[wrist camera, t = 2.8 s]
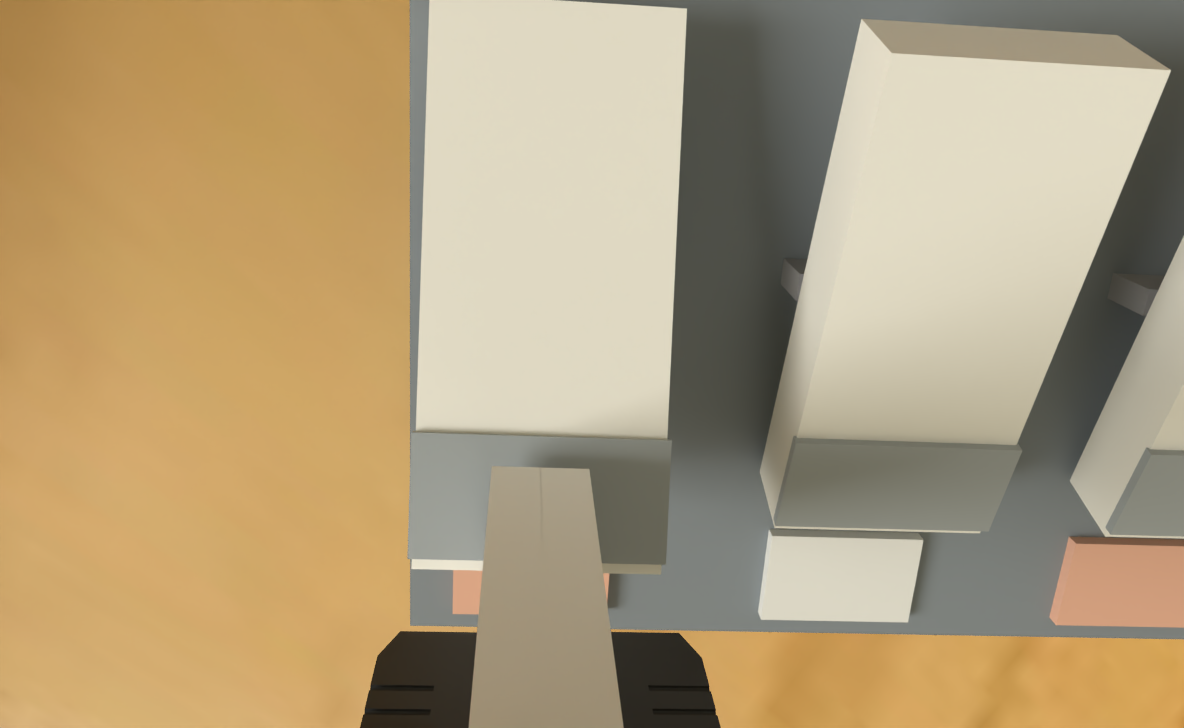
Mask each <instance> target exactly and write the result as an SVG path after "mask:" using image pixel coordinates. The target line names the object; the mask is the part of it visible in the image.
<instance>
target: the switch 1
mask: <svg viewBox="0 0 1184 728" xmlns="http://www.w3.org/2000/svg"><path fill="white" fill-rule="evenodd" d="M686 19H687V9H686V8H670V7H654V6H639V5H623V4H607V3H592V2H576V1H560V0H429V28H428V59H427V91H426V123H425V155H424V186H423V218H422V250H421V281H420V313H419V345H418V377H417V408H416V431H412V433H411V465H410V497H409V529H408V559H412V567H411V569H430V570H476V571H483V559H484V548H485V537H486V525H487V514H488V503H489V491H490V480H491V469H492V466H506V467H541V468H575V469H589V471H590V478H591V486H592V493H593V501H594V508H595V516H596V523H597V531H598V538H599V546H600V554H601V561H602V569H603V573H614V574H659V575H661V565H666V555H667V533H668V511H669V490H670V468H671V446H672V441H671V440H670V439H667V434H668V412H669V390H670V369H671V347H672V325H673V303H674V281H675V259H676V237H677V215H678V194H679V172H680V150H681V128H682V106H683V84H684V62H685V41H686Z"/></svg>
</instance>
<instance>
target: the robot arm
mask: <svg viewBox="0 0 1184 728" xmlns="http://www.w3.org/2000/svg"><path fill="white" fill-rule="evenodd" d="M715 711H716V709H715V705H714V702H713V698H712V694H711V692H709V683H708V679H707V676H706V672H705V668H704V665H703V661H702V658H701V657H700V655H699V654H698V653H697V652H696V651H695V650H694V649H693V648H692V647H691V646H690V645H689V644H688V642H687V641H686V640H685V639H684V638H683V637H682V636H681V635H680V634H679V633H637V632H611V629H610V621H609V614H608V606H607V599H606V591H605V584H604V576H603V569H602V561H601V554H600V546H599V538H598V531H597V523H596V516H595V508H594V501H593V493H592V486H591V478H590V471H589V469H575V468H541V467H506V466H492V469H491V480H490V491H489V503H488V514H487V525H486V537H485V548H484V559H483V571H482V582H481V593H480V605H479V616H478V627H477V633H468V632H408V631H400V632H399V633H398V635H397V636H396V637H395V638H394V639H393V640H392V641H391V642H390V643H389V644H388V645H387V646H386V647H385V649H384V650H383V651H382V652H381V653H380V654H379V655H378V657H377V661H376V665H375V669H374V673H373V677H372V681H371V688H370V690H369V694H368V698H367V702H366V706H365V714H364V715H363V718H362V723H361V727H360V728H721V727H720V724H719V720H718V716H717V715H716V712H715Z"/></svg>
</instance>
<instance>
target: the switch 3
mask: <svg viewBox="0 0 1184 728" xmlns="http://www.w3.org/2000/svg"><path fill="white" fill-rule="evenodd" d="M1070 482H1071V484H1072V485H1073V487H1074V489H1075V490H1076V492H1077V493H1078V495H1079V496H1080V498H1081V500H1082V501H1083V503H1084V504H1085V506H1086V507H1087V509H1088V511H1089V512H1090V514H1091V515H1092V517H1093V518H1094V520H1095V521H1096V523H1097V525H1098V526H1099V528H1100V529H1101V531H1102V532H1103V534H1104V536H1105V537H1141V538H1180V539H1184V236H1183V238H1182V240H1181V243H1180V245H1179V247H1178V249H1177V251H1176V253H1175V255H1174V258H1173V260H1172V262H1171V264H1170V266H1169V268H1168V270H1167V273H1166V275H1165V277H1164V279H1163V281H1162V283H1161V285H1160V288H1159V290H1158V292H1157V294H1156V296H1155V298H1154V301H1153V303H1152V305H1151V307H1150V309H1149V311H1148V313H1147V316H1146V318H1145V320H1144V322H1143V324H1142V326H1141V328H1140V331H1139V333H1138V335H1137V337H1136V339H1135V341H1134V343H1133V346H1132V348H1131V350H1130V352H1129V354H1128V356H1127V359H1126V361H1125V363H1124V365H1123V367H1122V369H1121V371H1120V374H1119V376H1118V378H1117V380H1116V382H1115V384H1114V386H1113V389H1112V391H1111V393H1110V395H1109V397H1108V399H1107V401H1106V404H1105V406H1104V408H1103V410H1102V412H1101V414H1100V417H1099V419H1098V421H1097V423H1096V425H1095V427H1094V429H1093V432H1092V434H1091V436H1090V438H1089V440H1088V442H1087V444H1086V447H1085V449H1084V451H1083V453H1082V455H1081V457H1080V459H1079V462H1078V464H1077V466H1076V468H1075V470H1074V472H1073V475H1072V477H1071V479H1070Z"/></svg>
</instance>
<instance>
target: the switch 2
mask: <svg viewBox="0 0 1184 728" xmlns="http://www.w3.org/2000/svg"><path fill="white" fill-rule="evenodd" d="M1170 72H1171V70H1170V69H1168V68H1167V67H1165V66H1164V65H1162V64H1161V63H1159V62H1158V61H1156V60H1155V59H1153V58H1152V57H1150V56H1149V55H1147V54H1145V53H1144V52H1142V51H1141V50H1139V49H1138V48H1136V47H1135V46H1133V45H1132V44H1130V43H1129V42H1127V41H1126V40H1124V39H1123V38H1121V37H1120V36H1118V35H1108V34H1092V33H1077V32H1061V31H1045V30H1030V29H1014V28H998V27H983V26H967V25H951V24H936V23H920V22H905V21H889V20H873V19H861V23H860V27H859V32H858V36H857V41H856V45H855V50H854V54H853V58H852V63H851V67H850V72H849V76H848V81H847V85H846V90H845V94H844V98H843V103H842V107H841V112H840V116H839V121H838V125H837V130H836V134H835V139H834V143H833V147H832V152H831V156H830V161H829V165H828V170H827V174H826V179H825V183H824V188H823V192H822V196H821V201H820V205H819V210H818V214H817V219H816V223H815V228H814V232H813V237H812V241H811V245H810V250H809V254H808V259H807V263H806V268H805V272H804V277H803V281H802V285H801V290H800V294H799V299H798V303H797V308H796V312H795V317H794V321H793V326H792V330H791V334H790V339H789V343H788V348H787V352H786V357H785V361H784V366H783V370H782V375H781V379H780V383H779V388H778V392H777V397H776V401H775V406H774V410H773V415H772V419H771V423H770V428H769V432H768V437H767V441H766V446H765V450H764V455H763V459H762V464H761V468H760V475H761V479H762V482H763V486H764V490H765V494H766V498H767V501H768V505H769V509H770V513H771V516H772V520H773V524H774V528H788V529H827V530H866V531H905V532H945V533H980V532H981V531H986V532H989V529H990V527H991V524H992V522H993V520H994V517H995V515H996V512H997V510H998V508H999V505H1000V503H1001V501H1002V498H1003V496H1004V493H1005V491H1006V489H1007V486H1008V484H1009V481H1010V479H1011V477H1012V474H1013V472H1014V470H1015V467H1016V465H1017V462H1018V460H1019V458H1020V455H1021V453H1022V449H1021V447H1020V446H1019V444H1018V440H1019V438H1020V435H1021V433H1022V430H1023V428H1024V426H1025V423H1026V421H1027V418H1028V416H1029V413H1030V411H1031V409H1032V406H1033V404H1034V401H1035V399H1036V397H1037V394H1038V392H1039V389H1040V387H1041V384H1042V382H1043V380H1044V377H1045V375H1046V372H1047V370H1048V367H1049V365H1050V363H1051V360H1052V358H1053V355H1054V353H1055V351H1056V348H1057V346H1058V343H1059V341H1060V338H1061V336H1062V334H1063V331H1064V329H1065V326H1066V324H1067V321H1068V319H1069V317H1070V314H1071V312H1072V309H1073V307H1074V305H1075V302H1076V300H1077V297H1078V295H1079V292H1080V290H1081V288H1082V285H1083V283H1084V280H1085V278H1086V275H1087V273H1088V271H1089V268H1090V266H1091V263H1092V261H1093V259H1094V256H1095V254H1096V251H1097V249H1098V246H1099V244H1100V242H1101V239H1102V237H1103V234H1104V232H1105V229H1106V227H1107V225H1108V222H1109V220H1110V217H1111V215H1112V213H1113V210H1114V208H1115V205H1116V203H1117V200H1118V198H1119V196H1120V193H1121V191H1122V188H1123V186H1124V184H1125V181H1126V179H1127V176H1128V174H1129V171H1130V169H1131V167H1132V164H1133V162H1134V159H1135V157H1136V154H1137V152H1138V150H1139V147H1140V145H1141V142H1142V140H1143V138H1144V135H1145V133H1146V130H1147V128H1148V125H1149V123H1150V121H1151V118H1152V116H1153V113H1154V111H1155V108H1156V106H1157V104H1158V101H1159V99H1160V96H1161V94H1162V92H1163V89H1164V87H1165V84H1166V82H1167V79H1168V77H1169V75H1170Z"/></svg>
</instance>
